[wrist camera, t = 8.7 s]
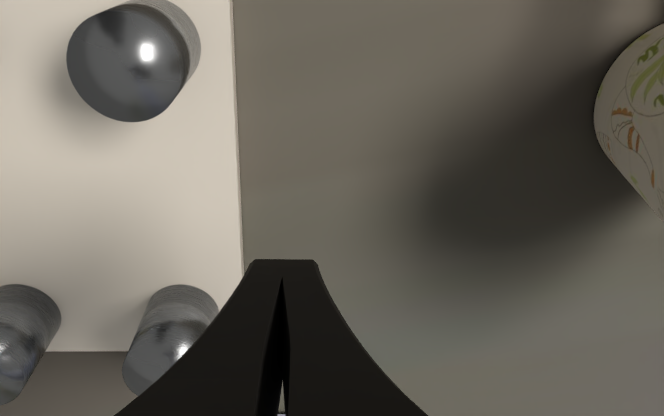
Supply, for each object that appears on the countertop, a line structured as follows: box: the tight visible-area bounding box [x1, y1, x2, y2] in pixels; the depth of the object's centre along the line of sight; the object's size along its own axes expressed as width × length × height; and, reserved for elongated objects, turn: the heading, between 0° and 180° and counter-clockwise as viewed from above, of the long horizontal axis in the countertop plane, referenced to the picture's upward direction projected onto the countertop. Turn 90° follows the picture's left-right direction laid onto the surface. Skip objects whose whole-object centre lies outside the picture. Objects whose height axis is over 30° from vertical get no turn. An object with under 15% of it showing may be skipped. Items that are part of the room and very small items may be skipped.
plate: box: [0, 0, 244, 352], centre depth 21 cm, size 15×16×1 cm
